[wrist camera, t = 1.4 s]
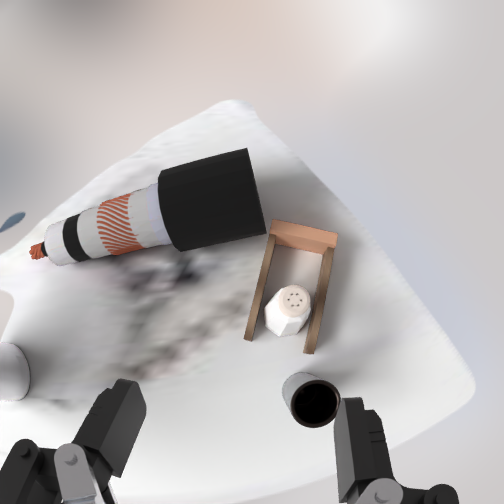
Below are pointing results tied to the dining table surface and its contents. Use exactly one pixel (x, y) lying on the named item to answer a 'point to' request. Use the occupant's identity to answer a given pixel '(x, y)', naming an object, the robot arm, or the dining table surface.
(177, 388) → the dining table surface
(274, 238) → the guide channel
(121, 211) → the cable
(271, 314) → the pepper shaker
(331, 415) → the planter
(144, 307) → the dining table surface
